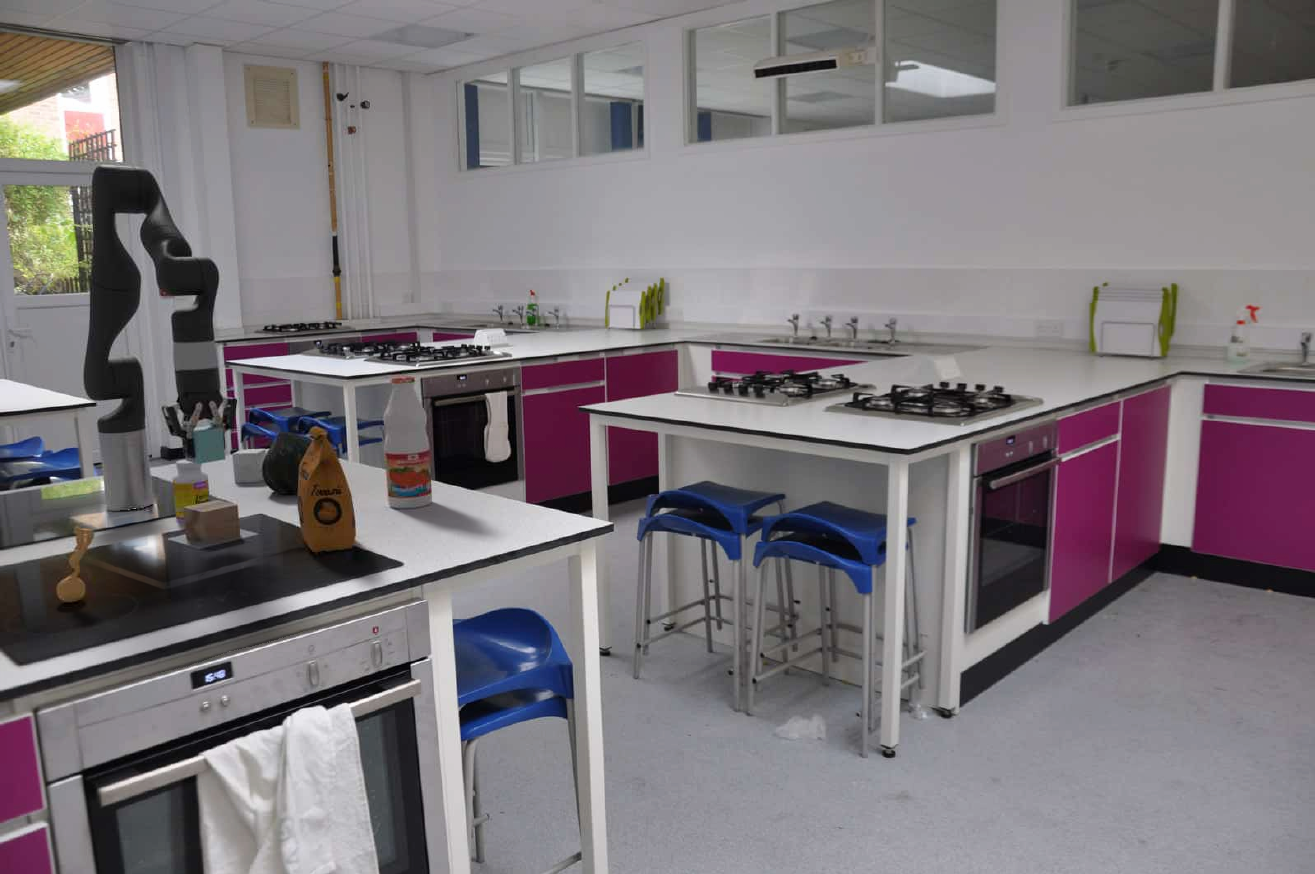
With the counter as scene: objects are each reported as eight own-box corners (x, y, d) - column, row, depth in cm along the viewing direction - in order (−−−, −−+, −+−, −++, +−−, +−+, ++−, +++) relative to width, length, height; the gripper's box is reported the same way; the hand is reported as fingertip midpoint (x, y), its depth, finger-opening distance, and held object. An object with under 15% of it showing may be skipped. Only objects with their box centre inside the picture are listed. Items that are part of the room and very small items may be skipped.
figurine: (57, 596, 163) (48, 524, 161) (100, 590, 166) (92, 519, 164) (58, 611, 156) (48, 536, 153) (102, 604, 159) (93, 530, 156)
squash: (350, 466, 236) (316, 416, 239) (297, 481, 224) (262, 428, 227) (324, 500, 244) (292, 451, 247) (271, 516, 231) (238, 464, 234)
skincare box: (258, 482, 246) (256, 453, 245) (234, 483, 247) (231, 453, 245) (268, 477, 252) (266, 448, 251) (244, 477, 252) (241, 448, 251)
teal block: (186, 461, 191) (183, 429, 190) (211, 456, 195) (208, 425, 193) (200, 463, 188) (197, 431, 187) (225, 459, 192) (222, 428, 191)
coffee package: (302, 557, 183) (292, 437, 179) (300, 539, 194) (291, 426, 190) (359, 550, 186) (350, 432, 182) (354, 534, 197) (346, 423, 194)
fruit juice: (428, 497, 227) (420, 373, 223) (436, 506, 219) (428, 377, 214) (385, 502, 224) (377, 376, 219) (391, 511, 215) (383, 380, 210)
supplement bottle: (198, 526, 205) (192, 464, 203) (169, 525, 207) (163, 463, 204) (218, 518, 212) (213, 458, 210) (190, 517, 213) (184, 457, 211)
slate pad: (167, 543, 193) (166, 538, 192) (226, 530, 202) (225, 525, 202) (200, 553, 186) (199, 548, 185) (259, 539, 195) (259, 534, 195)
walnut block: (186, 537, 193) (183, 507, 192) (220, 529, 198) (217, 500, 197) (205, 543, 189) (202, 512, 188) (240, 535, 194) (237, 504, 193)
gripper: (221, 361, 196) (229, 447, 199) (148, 368, 185) (157, 459, 188) (243, 363, 191) (251, 451, 194) (169, 370, 180) (178, 464, 183)
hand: (205, 455), depth 191 cm, fingers closed on teal block, 5 cm apart
